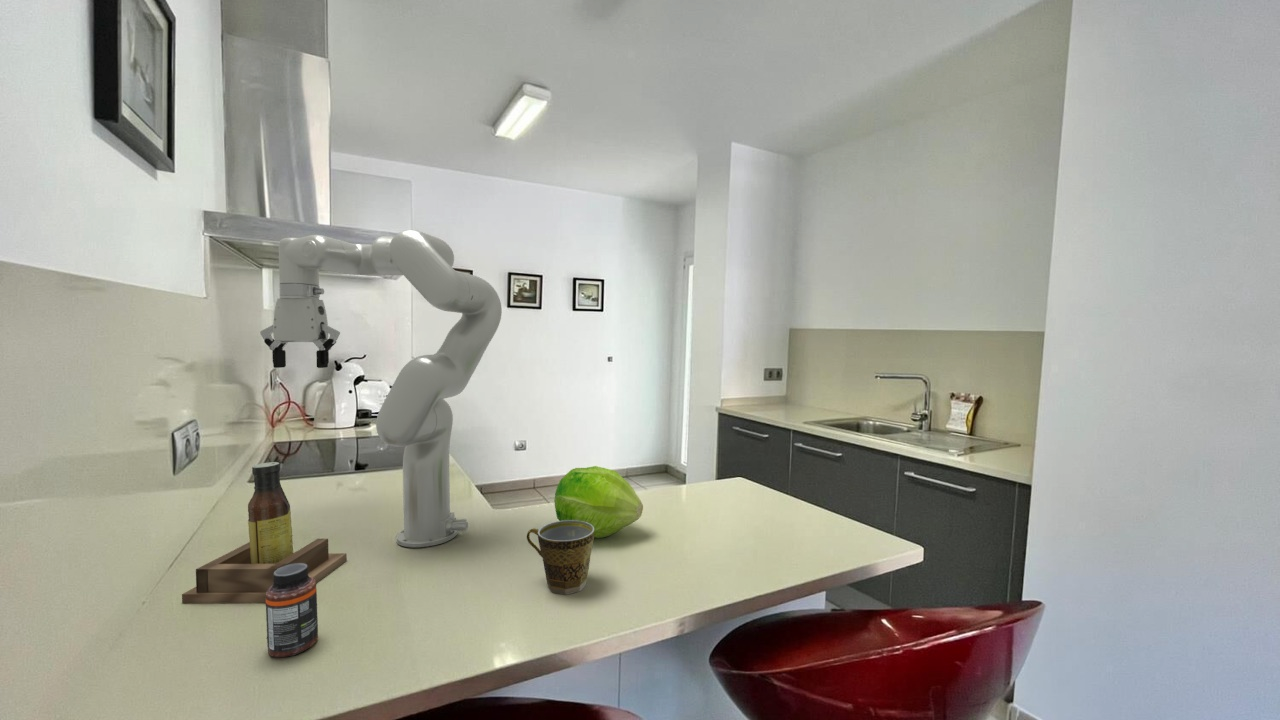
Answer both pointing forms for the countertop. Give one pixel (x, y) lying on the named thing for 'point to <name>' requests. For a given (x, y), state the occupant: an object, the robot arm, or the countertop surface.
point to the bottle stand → (255, 574)
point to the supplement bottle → (291, 611)
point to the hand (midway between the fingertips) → (301, 367)
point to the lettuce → (597, 500)
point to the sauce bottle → (269, 517)
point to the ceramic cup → (565, 554)
